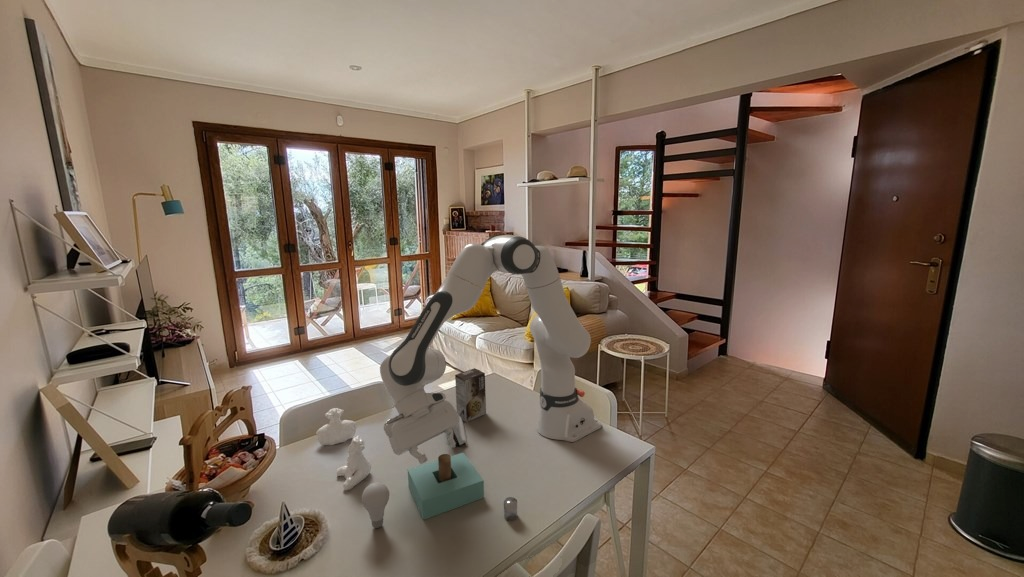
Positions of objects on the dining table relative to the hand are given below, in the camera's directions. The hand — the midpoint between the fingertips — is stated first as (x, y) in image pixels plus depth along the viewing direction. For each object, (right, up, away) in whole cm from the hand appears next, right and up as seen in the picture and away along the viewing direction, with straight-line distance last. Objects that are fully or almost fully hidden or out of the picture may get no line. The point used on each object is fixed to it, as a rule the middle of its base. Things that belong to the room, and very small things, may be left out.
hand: (438, 454), depth 107 cm
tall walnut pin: (+2, -10, 0) cm, 10 cm away
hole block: (+2, -10, 0) cm, 10 cm away
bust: (-38, -6, +25) cm, 46 cm away
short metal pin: (+19, -12, -8) cm, 24 cm away
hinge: (0, -5, +28) cm, 29 cm away
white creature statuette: (-24, -9, +7) cm, 27 cm away
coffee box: (+4, -3, +41) cm, 41 cm away
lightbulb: (-12, -13, -11) cm, 21 cm away
